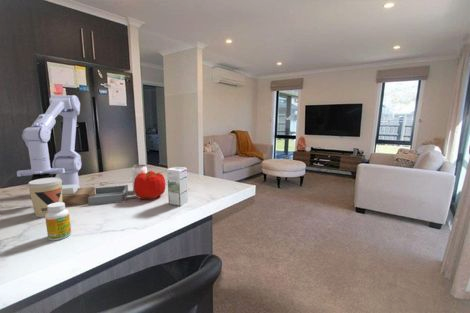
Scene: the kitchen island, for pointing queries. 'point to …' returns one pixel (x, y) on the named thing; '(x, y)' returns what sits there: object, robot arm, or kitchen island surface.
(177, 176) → the syrup box
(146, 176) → the tomato
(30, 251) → the kitchen island surface
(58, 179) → the coffee cup
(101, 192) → the tray
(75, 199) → the brown shallow box
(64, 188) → the white block
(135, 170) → the can
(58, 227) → the supplement bottle
